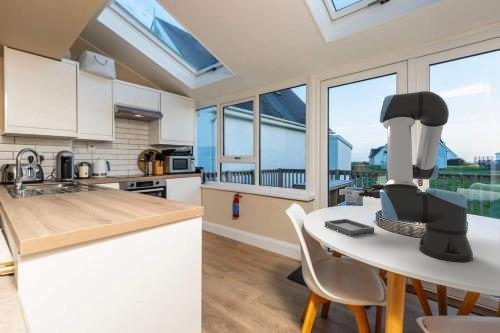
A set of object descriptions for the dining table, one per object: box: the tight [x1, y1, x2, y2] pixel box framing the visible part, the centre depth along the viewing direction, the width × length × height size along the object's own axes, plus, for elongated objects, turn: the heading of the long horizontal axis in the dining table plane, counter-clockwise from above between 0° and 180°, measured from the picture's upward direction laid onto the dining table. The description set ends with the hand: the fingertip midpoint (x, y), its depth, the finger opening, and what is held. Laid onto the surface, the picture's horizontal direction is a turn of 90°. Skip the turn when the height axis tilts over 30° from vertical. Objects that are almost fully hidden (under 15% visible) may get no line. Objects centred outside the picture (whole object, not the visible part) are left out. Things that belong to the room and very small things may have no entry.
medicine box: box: [344, 186, 364, 207], centre depth 119 cm, size 8×4×9 cm, turn 72°
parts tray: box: [324, 218, 375, 237], centre depth 118 cm, size 18×14×2 cm
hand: (346, 193), depth 117 cm, fingers closed on medicine box, 8 cm apart
